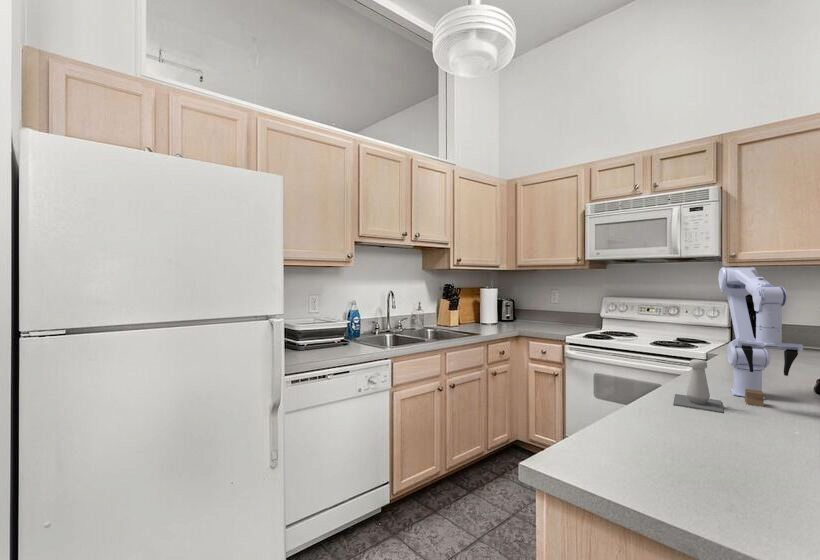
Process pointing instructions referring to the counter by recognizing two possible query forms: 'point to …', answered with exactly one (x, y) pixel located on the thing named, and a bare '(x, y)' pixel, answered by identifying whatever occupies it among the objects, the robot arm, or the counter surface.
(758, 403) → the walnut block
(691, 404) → the rubber mat
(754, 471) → the counter surface
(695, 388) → the salt shaker
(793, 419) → the counter surface
